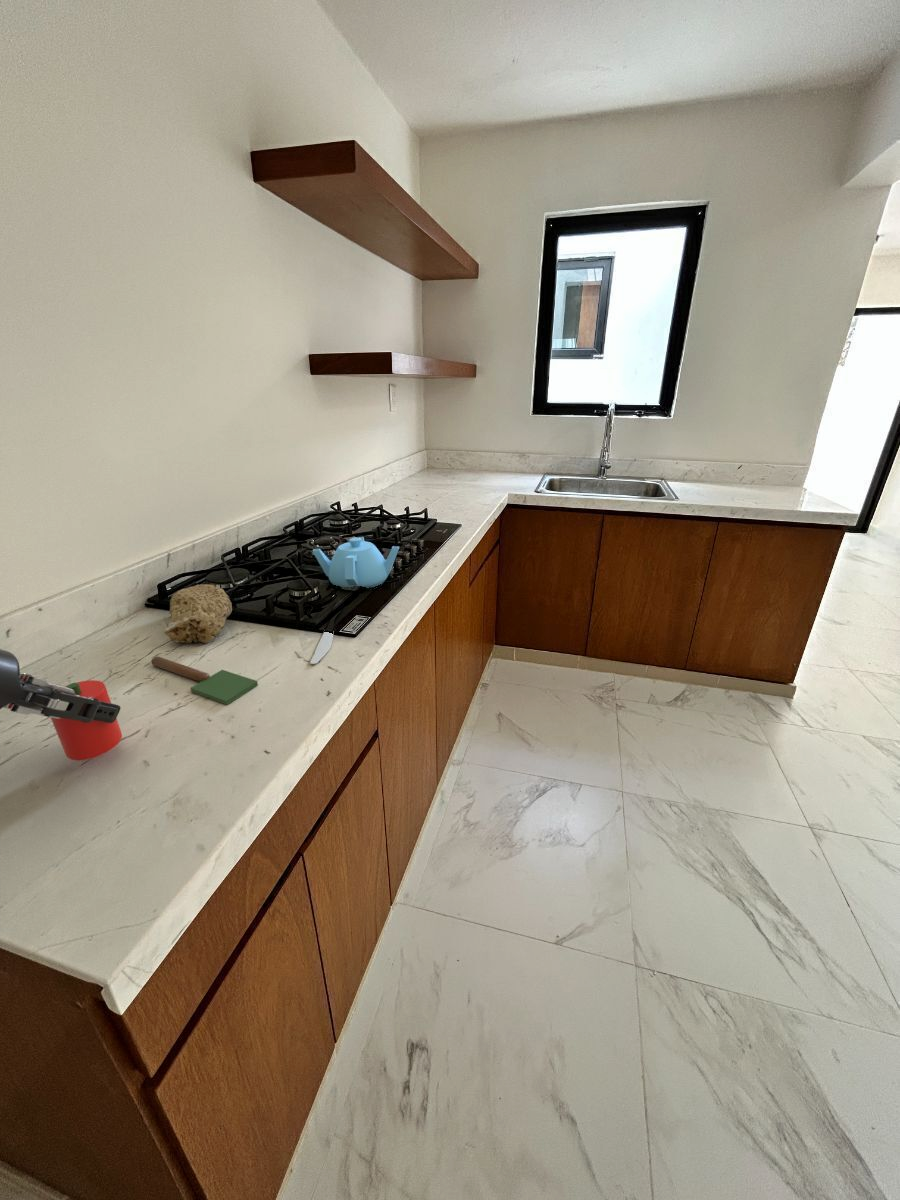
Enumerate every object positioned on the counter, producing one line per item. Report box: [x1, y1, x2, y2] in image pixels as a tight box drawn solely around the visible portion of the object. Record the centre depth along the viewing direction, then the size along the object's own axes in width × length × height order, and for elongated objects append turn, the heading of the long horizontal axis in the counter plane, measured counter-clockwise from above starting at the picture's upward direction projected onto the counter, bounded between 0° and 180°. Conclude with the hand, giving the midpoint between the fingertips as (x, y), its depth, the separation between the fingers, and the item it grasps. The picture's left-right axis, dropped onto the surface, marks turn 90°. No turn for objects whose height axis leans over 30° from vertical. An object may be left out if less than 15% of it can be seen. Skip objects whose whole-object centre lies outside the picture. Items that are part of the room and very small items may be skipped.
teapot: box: [312, 536, 400, 588], centre depth 116 cm, size 15×15×11 cm
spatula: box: [150, 656, 259, 706], centre depth 80 cm, size 21×6×2 cm, turn 63°
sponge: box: [164, 583, 233, 644], centre depth 98 cm, size 13×8×20 cm
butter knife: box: [309, 631, 334, 665], centre depth 96 cm, size 1×27×3 cm
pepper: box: [49, 679, 123, 761], centre depth 61 cm, size 6×6×9 cm
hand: (97, 708), depth 63 cm, fingers closed on pepper, 6 cm apart
